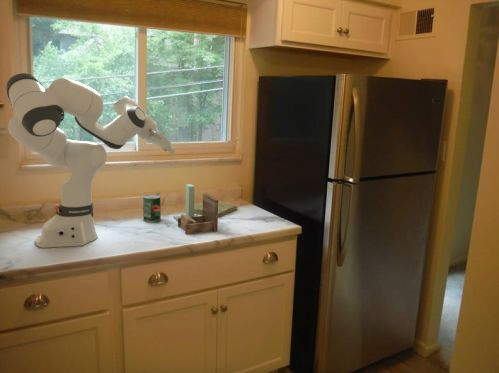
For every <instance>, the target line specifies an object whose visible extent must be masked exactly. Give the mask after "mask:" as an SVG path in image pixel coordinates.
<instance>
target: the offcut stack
mask: <svg viewBox="0 0 499 373" xmlns="http://www.w3.org/2000/svg"><path fill="white" fill-rule="evenodd" d="M180 216H181V227H180V228H181V229H182V230H183V231H185V224H195V223H196V221H195V220H193V219H192V218H191V217H187V216H185V214H180Z"/></svg>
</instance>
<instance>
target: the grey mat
mask: <svg viewBox="0 0 499 373" xmlns="http://www.w3.org/2000/svg"><path fill="white" fill-rule="evenodd" d="M194 216H200V215H198V214H194ZM178 218H181V215H176V216H173V219H174V220H175V221H177V222H178Z"/></svg>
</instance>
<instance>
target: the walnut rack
mask: <svg viewBox="0 0 499 373" xmlns="http://www.w3.org/2000/svg"><path fill="white" fill-rule="evenodd" d="M218 201H219V199H217V198H215V197H213V196H212V195H210V194H209V193H207V192H206V193H202V203H203V215H199V216H193V217H191V218H192V219H193V220H195V221H196V223H195V224H185V232H184V234H186V235H191V234H199V233H200V234H201V233H209V232H214V233H217V232H218V225H219V224H218V223H219V222H218V219H219V217H218ZM177 227H178V228H181V218H178V221H177Z"/></svg>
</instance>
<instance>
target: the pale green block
mask: <svg viewBox="0 0 499 373" xmlns="http://www.w3.org/2000/svg"><path fill="white" fill-rule="evenodd" d="M184 190H185V193H184V194H185V201H184V202H185V204H184V205H185V206H184V207H185V212H184V213H185V214H184V215H185V216H187V217H193V216H194V215H195V214H194V204H195V185H193V184H190V183H188V184H185V189H184Z"/></svg>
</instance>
